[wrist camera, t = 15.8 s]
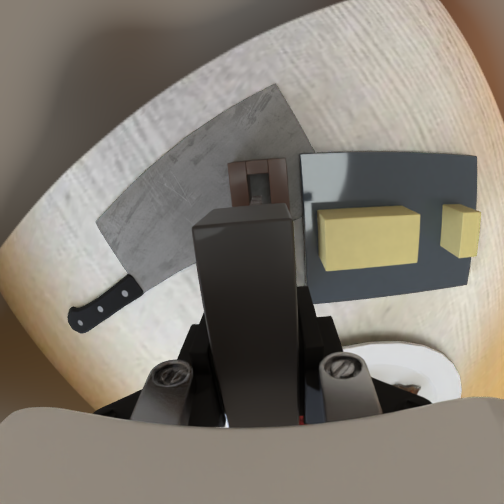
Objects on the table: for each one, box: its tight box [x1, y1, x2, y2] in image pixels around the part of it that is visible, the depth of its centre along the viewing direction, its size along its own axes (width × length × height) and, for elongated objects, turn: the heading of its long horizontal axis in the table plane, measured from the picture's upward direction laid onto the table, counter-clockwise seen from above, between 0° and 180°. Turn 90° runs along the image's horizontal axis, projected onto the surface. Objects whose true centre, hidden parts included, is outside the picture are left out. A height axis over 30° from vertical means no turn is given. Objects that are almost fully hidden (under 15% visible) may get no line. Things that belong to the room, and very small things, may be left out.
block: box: [227, 157, 290, 212], centre depth 22 cm, size 4×12×3 cm, turn 6°
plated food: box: [221, 341, 462, 428], centre depth 29 cm, size 30×30×3 cm
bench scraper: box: [191, 195, 299, 428], centre depth 12 cm, size 2×10×9 cm, turn 5°
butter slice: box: [440, 204, 481, 258], centre depth 20 cm, size 2×4×3 cm, turn 5°
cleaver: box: [68, 84, 315, 333], centre depth 24 cm, size 29×1×10 cm
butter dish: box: [299, 151, 477, 304], centre depth 22 cm, size 16×12×1 cm
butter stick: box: [317, 206, 420, 271], centre depth 21 cm, size 7×4×3 cm, turn 96°
